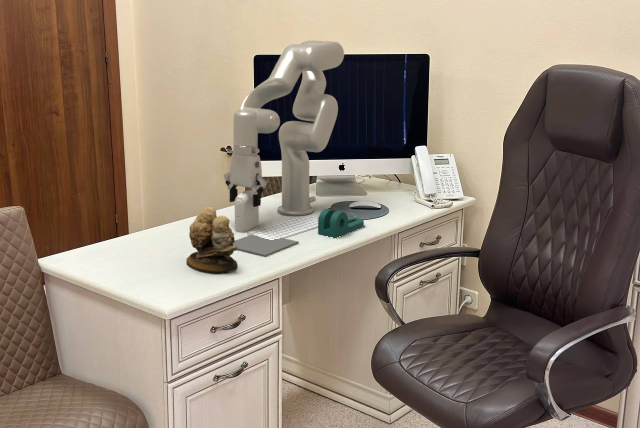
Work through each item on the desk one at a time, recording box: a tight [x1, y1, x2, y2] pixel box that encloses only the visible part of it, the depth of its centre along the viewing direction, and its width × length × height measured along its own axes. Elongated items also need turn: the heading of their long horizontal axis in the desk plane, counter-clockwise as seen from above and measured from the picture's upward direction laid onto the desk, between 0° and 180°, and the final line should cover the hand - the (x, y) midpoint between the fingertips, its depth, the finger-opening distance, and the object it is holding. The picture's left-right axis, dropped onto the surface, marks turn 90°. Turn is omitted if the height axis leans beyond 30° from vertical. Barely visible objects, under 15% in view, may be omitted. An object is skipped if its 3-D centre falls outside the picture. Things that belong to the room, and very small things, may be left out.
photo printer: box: [234, 189, 260, 233], centre depth 236 cm, size 10×4×12 cm, turn 156°
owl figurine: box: [186, 206, 239, 275], centre depth 201 cm, size 18×12×17 cm, turn 48°
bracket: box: [317, 208, 365, 239], centre depth 236 cm, size 18×7×8 cm, turn 143°
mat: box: [233, 234, 300, 258], centre depth 221 cm, size 16×16×1 cm
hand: (245, 203), depth 235 cm, fingers open, 9 cm apart
